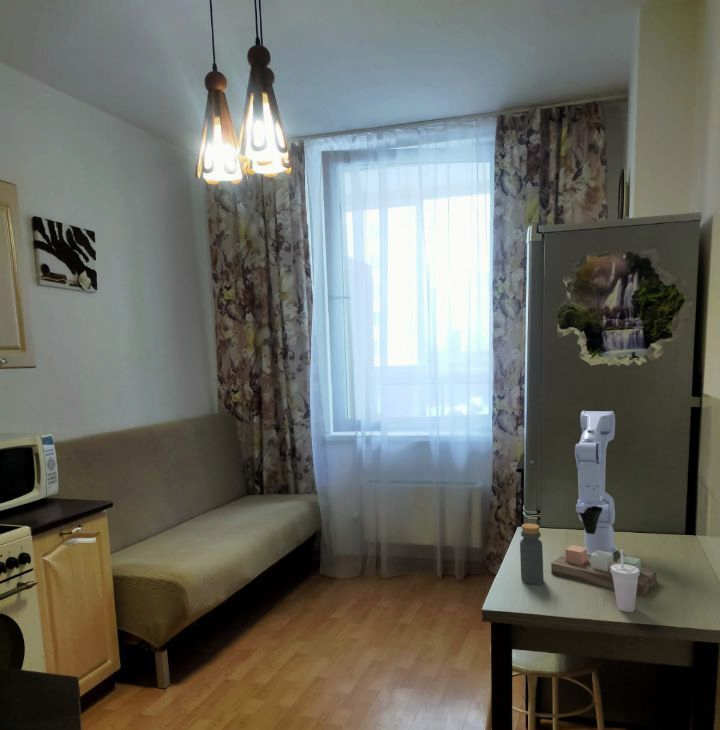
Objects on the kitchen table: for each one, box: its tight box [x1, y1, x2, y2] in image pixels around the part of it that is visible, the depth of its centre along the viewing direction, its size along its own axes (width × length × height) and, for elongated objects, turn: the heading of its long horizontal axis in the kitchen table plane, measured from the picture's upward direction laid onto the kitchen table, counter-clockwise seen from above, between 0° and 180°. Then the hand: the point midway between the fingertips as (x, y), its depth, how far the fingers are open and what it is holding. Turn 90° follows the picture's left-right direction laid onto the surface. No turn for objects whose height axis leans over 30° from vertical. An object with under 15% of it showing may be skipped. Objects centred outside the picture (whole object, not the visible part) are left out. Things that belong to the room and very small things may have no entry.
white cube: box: [590, 550, 614, 572], centre depth 155 cm, size 4×4×4 cm
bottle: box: [519, 522, 544, 585], centre depth 155 cm, size 6×6×15 cm
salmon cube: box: [564, 544, 589, 566], centre depth 160 cm, size 4×4×4 cm
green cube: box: [616, 555, 642, 574], centre depth 150 cm, size 4×4×4 cm
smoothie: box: [610, 549, 640, 613], centre depth 136 cm, size 6×6×14 cm
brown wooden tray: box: [550, 552, 658, 597], centre depth 155 cm, size 11×24×3 cm, turn 47°
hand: (590, 533), depth 160 cm, fingers closed
